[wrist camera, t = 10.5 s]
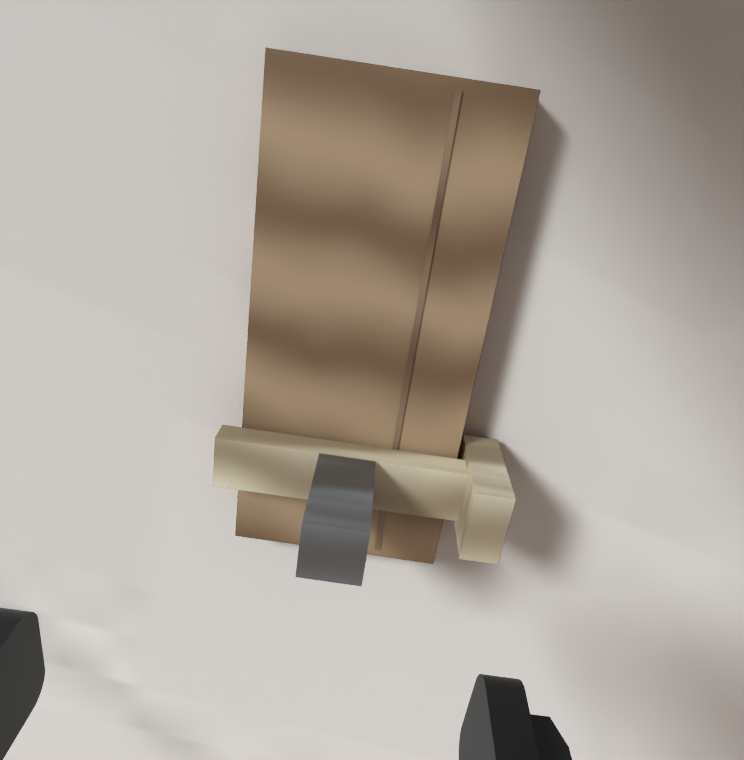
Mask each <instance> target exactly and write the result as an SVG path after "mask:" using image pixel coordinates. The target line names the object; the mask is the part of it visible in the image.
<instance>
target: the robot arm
mask: <svg viewBox="0 0 744 760" xmlns="http://www.w3.org/2000/svg"><path fill="white" fill-rule="evenodd" d="M44 676H45V666H44V659H43V652H42V644H41V637H40V630H39V622H38V617H37V615H36V614H35V613H34V612H28V611H20V610H13V609H5V608H0V760H3V758H4V757H5V755H6V753H7V752H8V750H9V748H10V747H11V745H12V743H13V742H14V740H15V738H16V737H17V735H18V733H19V732H20V730H21V728H22V727H23V725H24V723H25V722H26V720H27V718H28V717H29V715H30V713H31V712H32V710H33V708H34V706H35V704H36V702H37V700H38V698H39V695H40V692H41V689H42V686H43V682H44ZM459 760H572V758H571V755H570V751H569V747H568V745H567V744H566V742H565V741H564V739H563V737H562V736H561V734H560V733H559V731H558V730H557V728H556V726H555V725H554V723H553V722H552V720H551V718H550V717H546V716H538V715H531V714H530V712H529V707H528V702H527V698H526V693H525V689H524V686H523V683H522V681H521V680H519V679H512V678H505V677H498V676H490V675H483V674H479V675H478V677H477V679H476V682H475V685H474V689H473V692H472V695H471V698H470V702H469V705H468V708H467V711H466V714H465V718H464V721H463V724H462V728H461V734H460V742H459Z"/></svg>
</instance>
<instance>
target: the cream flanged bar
mask: <svg viewBox="0 0 744 760" xmlns="http://www.w3.org/2000/svg"><path fill="white" fill-rule="evenodd" d="M213 486H215V487H222V488H229V489H236V490H243V491H250V492H257V493H264V494H271V495H278V496H285V497H292V498H299V499H306V500H307V504H306V508H305V512H304V516H303V520H302V526H301V535H300V544H299V553H298V561H297V570H296V577H300V578H307V579H314V580H321V581H329V582H336V583H343V584H350V585H357V586H361V585H362V579H363V573H364V568H365V562H366V556H367V550H368V544H369V538H370V532H371V519H372V509H375V510H382V511H389V512H396V513H403V514H410V515H417V516H424V517H431V518H438V519H445V520H452V521H454V524H455V532H456V539H457V547H458V554H459V559H463V560H470V561H477V562H484V563H491V564H498V562H499V558H500V555H501V551H502V547H503V544H504V540H505V537H506V533H507V530H508V526H509V523H510V519H511V515H512V512H513V508H514V505H515V501H516V498H515V495H514V491H513V488H512V485H511V481H510V478H509V475H508V472H507V468H506V465H505V462H504V458H503V455H502V452H501V449H500V445H499V442H498V440H496V439H489V438H482V437H475V436H469V435H463V439H462V444H461V448H460V453H459V457H458V459H455V458H448V457H441V456H434V455H427V454H420V453H413V452H406V451H400V450H393V449H386V448H379V447H372V446H365V445H358V444H351V443H345V442H338V441H331V440H324V439H317V438H310V437H303V436H296V435H289V434H283V433H276V432H269V431H262V430H255V429H248V428H241V427H234V426H228V425H222V427H221V429H220V430H219V432H218V434H217V435H216V437H215V450H214V473H213Z"/></svg>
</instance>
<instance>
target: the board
mask: <svg viewBox="0 0 744 760" xmlns="http://www.w3.org/2000/svg"><path fill="white" fill-rule="evenodd" d="M539 95H540V90H536V89H530V88H523V87H517V86H511V85H504V84H498V83H491V82H485V81H478V80H472V79H465V78H459V77H452V76H446V75H439V74H433V73H426V72H420V71H413V70H407V69H400V68H394V67H387V66H381V65H374V64H368V63H361V62H355V61H348V60H342V59H336V58H329V57H323V56H316V55H310V54H303V53H297V52H290V51H284V50H277V49H271V48H266V51H265V67H264V83H263V99H262V115H261V132H260V148H259V164H258V180H257V196H256V212H255V228H254V244H253V260H252V277H251V293H250V309H249V325H248V341H247V357H246V373H245V389H244V405H243V422H242V428H248V429H255V430H262V431H269V432H276V433H283V434H289V435H296V436H303V437H310V438H317V439H324V440H331V441H338V442H345V443H351V444H358V445H365V446H372V447H379V448H386V449H393V450H400V451H406V452H413V453H420V454H427V455H434V456H441V457H448V458H455V459H457V456H458V452H459V448H460V443H461V439H462V434H463V430H464V426H465V421H466V417H467V412H468V408H469V403H470V399H471V395H472V390H473V386H474V381H475V377H476V373H477V368H478V364H479V359H480V355H481V351H482V346H483V342H484V337H485V333H486V328H487V324H488V320H489V315H490V311H491V306H492V302H493V298H494V293H495V289H496V284H497V280H498V276H499V271H500V267H501V262H502V258H503V254H504V249H505V245H506V240H507V236H508V231H509V227H510V223H511V218H512V214H513V209H514V205H515V201H516V196H517V192H518V187H519V183H520V179H521V174H522V170H523V165H524V161H525V156H526V152H527V148H528V143H529V139H530V134H531V130H532V126H533V121H534V117H535V112H536V108H537V104H538V99H539ZM306 504H307V500H306V499H299V498H292V497H285V496H278V495H271V494H264V493H257V492H250V491H243V490H238V502H237V518H236V534H235V536H242V537H249V538H256V539H263V540H270V541H277V542H284V543H291V544H298V545H299V544H300V535H301V526H302V520H303V516H304V512H305V508H306ZM442 523H443V519H438V518H431V517H424V516H417V515H410V514H403V513H396V512H389V511H382V510H375V509H372V519H371V532H370V538H369V544H368V550H367V554H368V555H375V556H382V557H389V558H396V559H403V560H410V561H417V562H424V563H431V564H433V562H434V558H435V553H436V549H437V545H438V540H439V536H440V531H441V527H442Z"/></svg>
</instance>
